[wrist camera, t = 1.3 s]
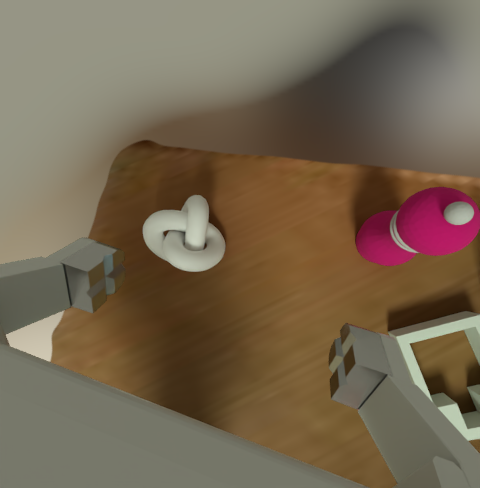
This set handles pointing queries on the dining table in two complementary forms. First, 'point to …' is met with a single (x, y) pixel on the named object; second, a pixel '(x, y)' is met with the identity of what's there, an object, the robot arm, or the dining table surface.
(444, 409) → the keyhole board
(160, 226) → the white knot sculpture
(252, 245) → the dining table surface
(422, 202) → the pepper mill
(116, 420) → the robot arm
